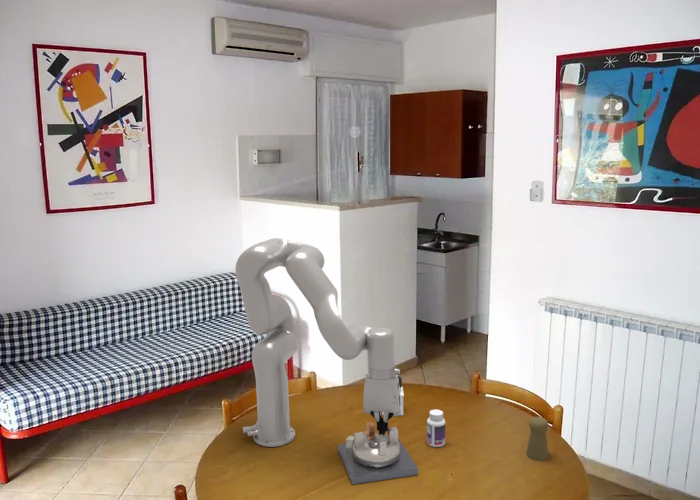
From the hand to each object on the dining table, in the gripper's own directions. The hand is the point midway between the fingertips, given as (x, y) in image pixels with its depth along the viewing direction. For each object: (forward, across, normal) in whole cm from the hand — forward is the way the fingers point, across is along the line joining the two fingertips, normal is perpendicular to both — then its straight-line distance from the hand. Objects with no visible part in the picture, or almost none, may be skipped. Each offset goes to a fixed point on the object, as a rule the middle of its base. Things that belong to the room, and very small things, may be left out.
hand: (382, 432), depth 172 cm
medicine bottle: (+6, +2, -28) cm, 29 cm away
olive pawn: (+7, -43, -9) cm, 44 cm away
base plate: (+6, +1, +5) cm, 8 cm away
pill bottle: (+7, -14, -10) cm, 18 cm away
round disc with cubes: (+4, +1, +4) cm, 6 cm away
